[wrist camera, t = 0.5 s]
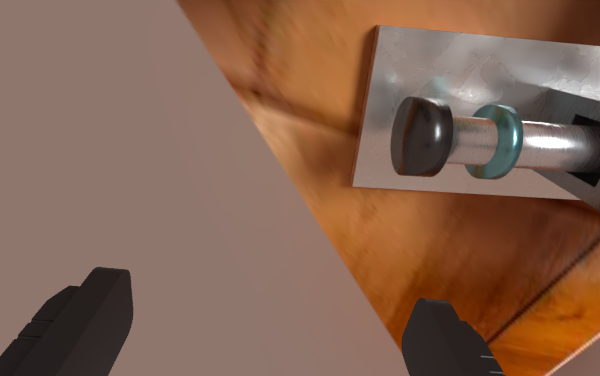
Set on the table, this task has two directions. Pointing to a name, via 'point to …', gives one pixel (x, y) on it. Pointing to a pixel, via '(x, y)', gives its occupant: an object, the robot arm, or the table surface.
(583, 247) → the table surface
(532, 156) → the shaft
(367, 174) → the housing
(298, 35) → the table surface
